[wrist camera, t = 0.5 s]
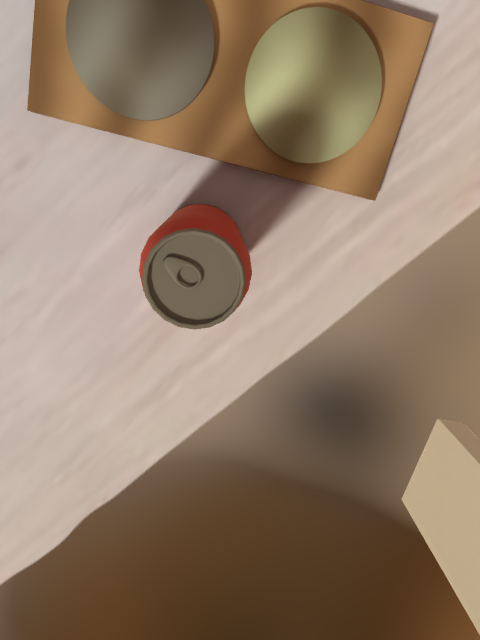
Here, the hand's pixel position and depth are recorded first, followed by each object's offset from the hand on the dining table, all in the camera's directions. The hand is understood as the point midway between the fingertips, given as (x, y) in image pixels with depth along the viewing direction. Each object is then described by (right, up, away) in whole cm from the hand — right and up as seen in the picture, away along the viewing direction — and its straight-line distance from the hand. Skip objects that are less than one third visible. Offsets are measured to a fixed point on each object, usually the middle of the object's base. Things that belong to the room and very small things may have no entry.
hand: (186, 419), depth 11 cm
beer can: (-2, +9, +23) cm, 25 cm away
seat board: (+1, +20, +19) cm, 28 cm away
